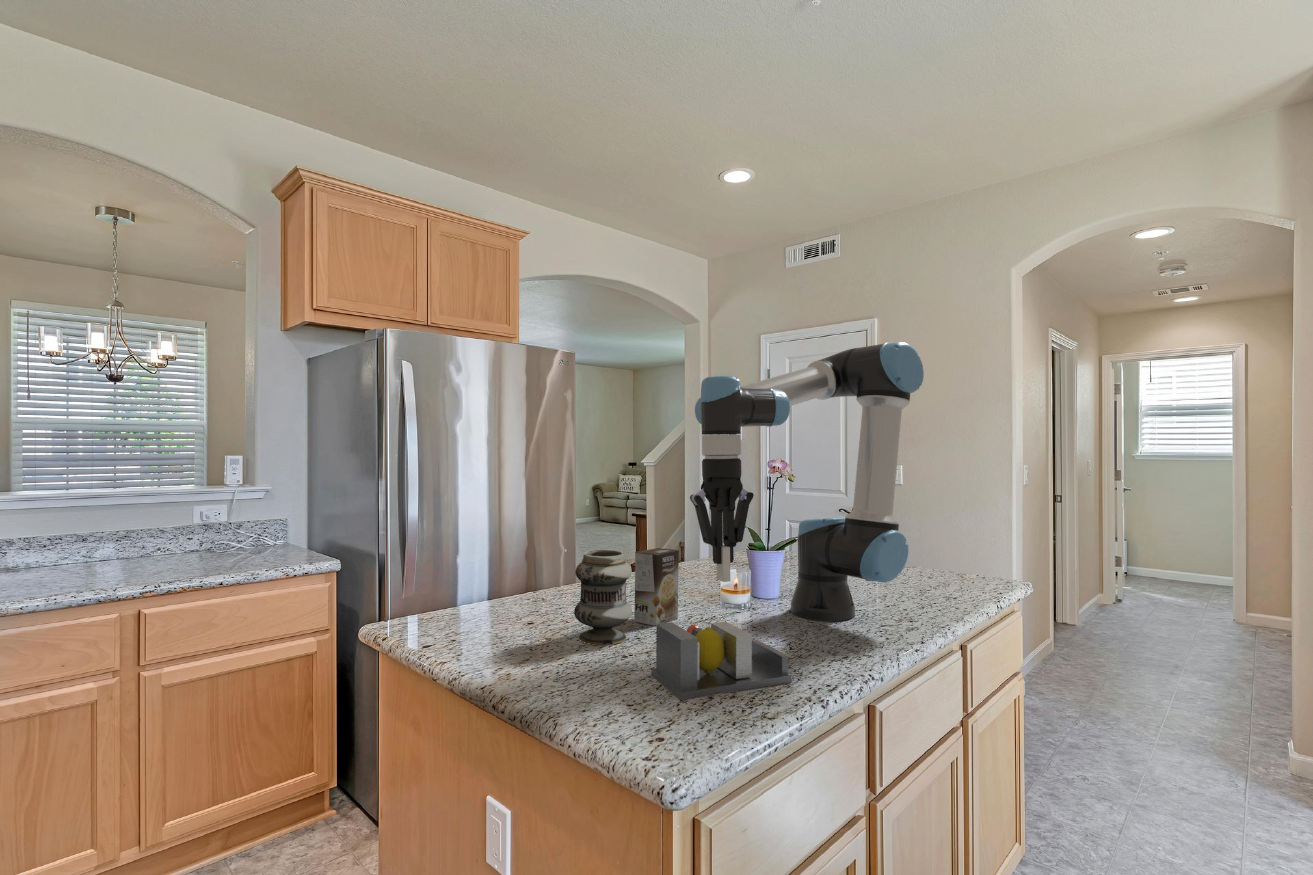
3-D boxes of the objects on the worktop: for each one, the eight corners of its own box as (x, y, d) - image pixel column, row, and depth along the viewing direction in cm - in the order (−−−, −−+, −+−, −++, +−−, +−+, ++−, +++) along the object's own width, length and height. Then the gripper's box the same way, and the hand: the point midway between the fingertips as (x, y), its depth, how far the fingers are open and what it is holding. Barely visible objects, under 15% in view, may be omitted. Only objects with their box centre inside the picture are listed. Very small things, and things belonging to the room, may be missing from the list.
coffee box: (656, 626, 144) (656, 554, 144) (633, 622, 148) (634, 551, 148) (679, 618, 151) (679, 549, 152) (656, 613, 155) (657, 546, 155)
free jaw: (697, 642, 128) (697, 607, 128) (751, 676, 109) (751, 635, 109) (683, 644, 127) (684, 608, 127) (736, 678, 108) (736, 636, 108)
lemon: (706, 665, 115) (706, 620, 115) (730, 673, 111) (731, 627, 111) (685, 673, 111) (685, 626, 111) (709, 682, 107) (709, 633, 107)
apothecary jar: (583, 650, 127) (584, 558, 127) (567, 633, 138) (567, 549, 138) (640, 643, 132) (641, 554, 132) (620, 627, 143) (620, 546, 143)
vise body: (754, 660, 121) (754, 611, 122) (791, 682, 110) (791, 628, 111) (651, 675, 113) (651, 622, 113) (680, 700, 102) (680, 641, 102)
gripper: (741, 455, 130) (743, 573, 130) (682, 457, 125) (684, 579, 125) (761, 456, 123) (763, 580, 123) (699, 458, 118) (702, 587, 118)
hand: (723, 580), depth 124 cm, fingers closed
